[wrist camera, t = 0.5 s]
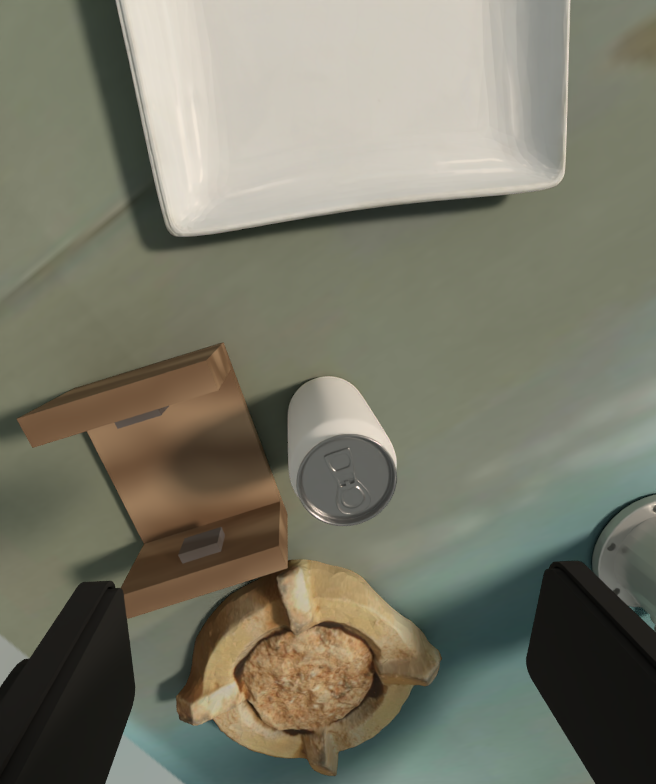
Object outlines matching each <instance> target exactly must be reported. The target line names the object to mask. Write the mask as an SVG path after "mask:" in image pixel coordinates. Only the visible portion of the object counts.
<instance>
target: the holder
mask: <svg viewBox="0 0 656 784" xmlns="http://www.w3.org/2000/svg"><path fill="white" fill-rule="evenodd" d="M17 421H18V423H19V424H20V426H21V428H22V430H23V432H24V433H25V435H26V437H27V439H28V441H29V442H30V444H31V446H32V448H34V447H37V446H40V445H43V444H47V443H50V442H53V441H56V440H59V439H63V438H66V437H69V436H72V435H76V434H79V433H82V432H85V431H87V432H88V434H89V436H90V438H91V440H92V442H93V444H94V446H95V448H96V450H97V452H98V454H99V456H100V458H101V460H102V462H103V464H104V466H105V468H106V470H107V472H108V474H109V476H110V478H111V480H112V482H113V484H114V486H115V488H116V490H117V492H118V494H119V496H120V497H121V499H122V501H123V503H124V505H125V507H126V509H127V511H128V513H129V515H130V517H131V519H132V521H133V523H134V525H135V527H136V529H137V531H138V533H139V535H140V537H141V539H142V541H143V543H144V545H143V547H142V549H141V551H140V553H139V554H138V556H137V558H136V560H135V562H134V564H133V566H132V568H131V570H130V571H129V573H128V575H127V577H126V579H125V581H124V583H123V585H122V586H121V588H122V590H123V593H124V600H125V608H126V616H127V618H128V619H129V618H132V617H135V616H138V615H141V614H145V613H148V612H151V611H154V610H157V609H160V608H163V607H167V606H170V605H173V604H176V603H179V602H182V601H186V600H189V599H192V598H195V597H198V596H201V595H205V594H208V593H211V592H214V591H217V590H220V589H224V588H227V587H230V586H233V585H236V584H239V583H242V582H246V581H249V580H252V579H255V578H258V577H261V576H265V575H268V574H271V573H274V572H277V571H280V570H284V569H287V568H288V547H287V512H286V509H285V507H284V504H283V501H282V499H281V496H280V493H279V491H278V488H277V485H276V482H275V480H274V477H273V474H272V472H271V469H270V466H269V464H268V461H267V458H266V456H265V453H264V450H263V448H262V445H261V442H260V440H259V437H258V434H257V431H256V429H255V426H254V423H253V421H252V418H251V415H250V413H249V410H248V407H247V405H246V402H245V399H244V397H243V394H242V391H241V389H240V386H239V383H238V380H237V378H236V375H235V372H234V370H233V367H232V364H231V362H230V359H229V356H228V354H227V351H226V348H225V346H224V343H220V344H217V345H213V346H210V347H207V348H204V349H200V350H197V351H194V352H191V353H187V354H184V355H181V356H178V357H174V358H171V359H168V360H165V361H161V362H158V363H155V364H152V365H148V366H145V367H142V368H139V369H135V370H132V371H129V372H126V373H122V374H119V375H116V376H113V377H109V378H106V379H103V380H100V381H96V382H93V383H90V384H87V385H84V386H80V387H77V388H74V389H72V390H70V391H68V392H66V393H64V394H62V395H61V396H59V397H57V398H55V399H53V400H51V401H49V402H47V403H45V404H44V405H42V406H40V407H38V408H36V409H34V410H32V411H30V412H29V413H27V414H25V415H23V416H21V417H19V418H17Z"/></svg>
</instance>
